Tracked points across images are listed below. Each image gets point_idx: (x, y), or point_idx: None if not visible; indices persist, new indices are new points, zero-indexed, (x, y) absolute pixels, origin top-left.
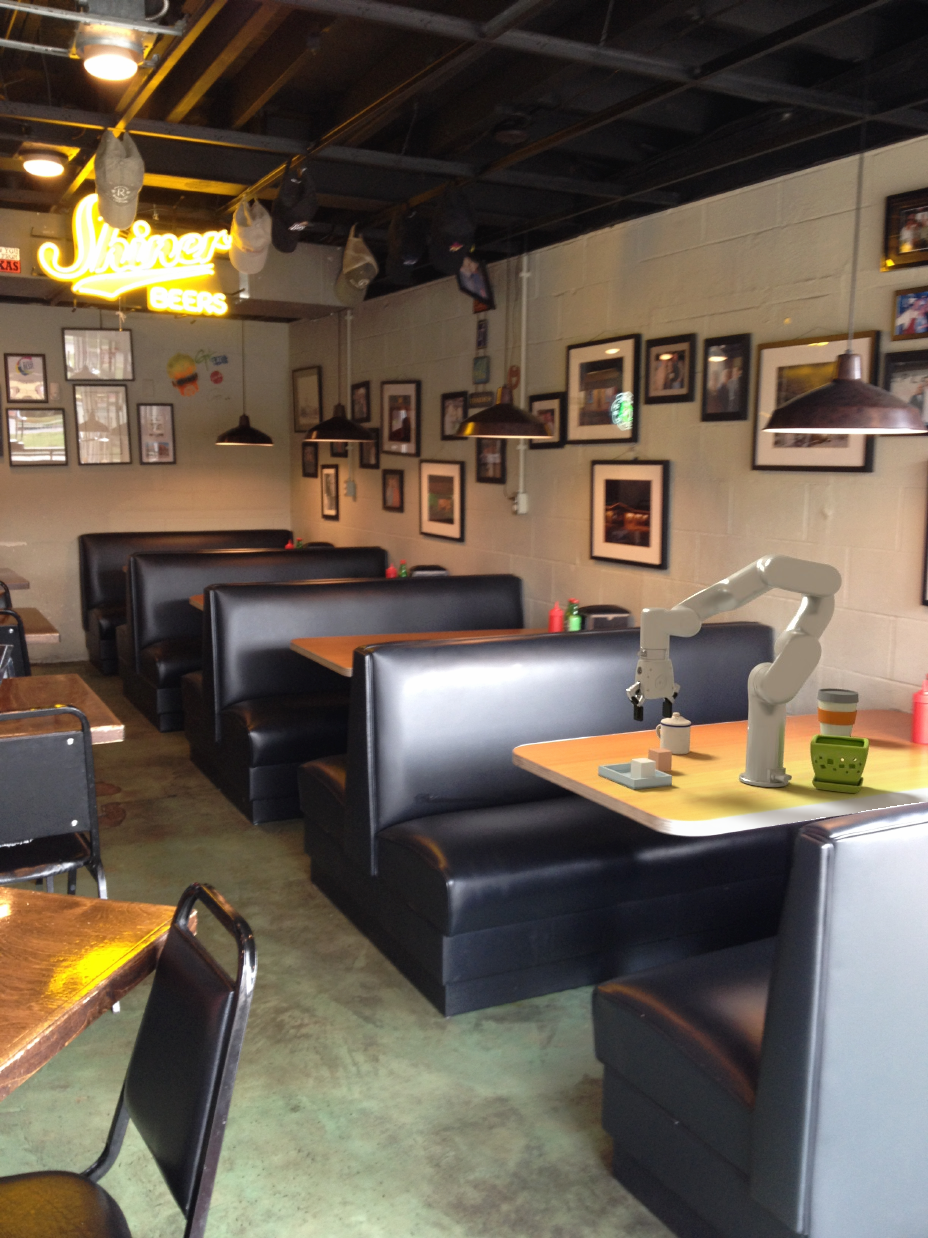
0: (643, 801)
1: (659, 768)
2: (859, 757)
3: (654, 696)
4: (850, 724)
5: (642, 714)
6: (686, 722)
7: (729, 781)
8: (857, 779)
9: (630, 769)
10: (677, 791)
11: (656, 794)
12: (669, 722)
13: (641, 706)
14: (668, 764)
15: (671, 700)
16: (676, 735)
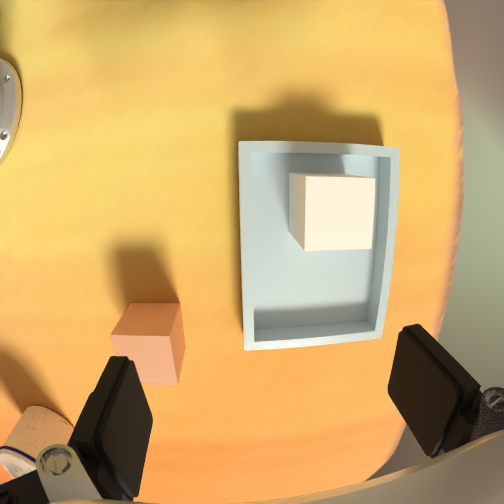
0: (416, 53)
1: (172, 308)
2: None
3: (452, 476)
4: None
5: (436, 349)
6: (6, 456)
7: (38, 140)
8: None
9: (268, 330)
10: (265, 80)
11: (349, 82)
12: None
13: (476, 393)
14: (135, 313)
15: (70, 469)
16: (40, 443)
